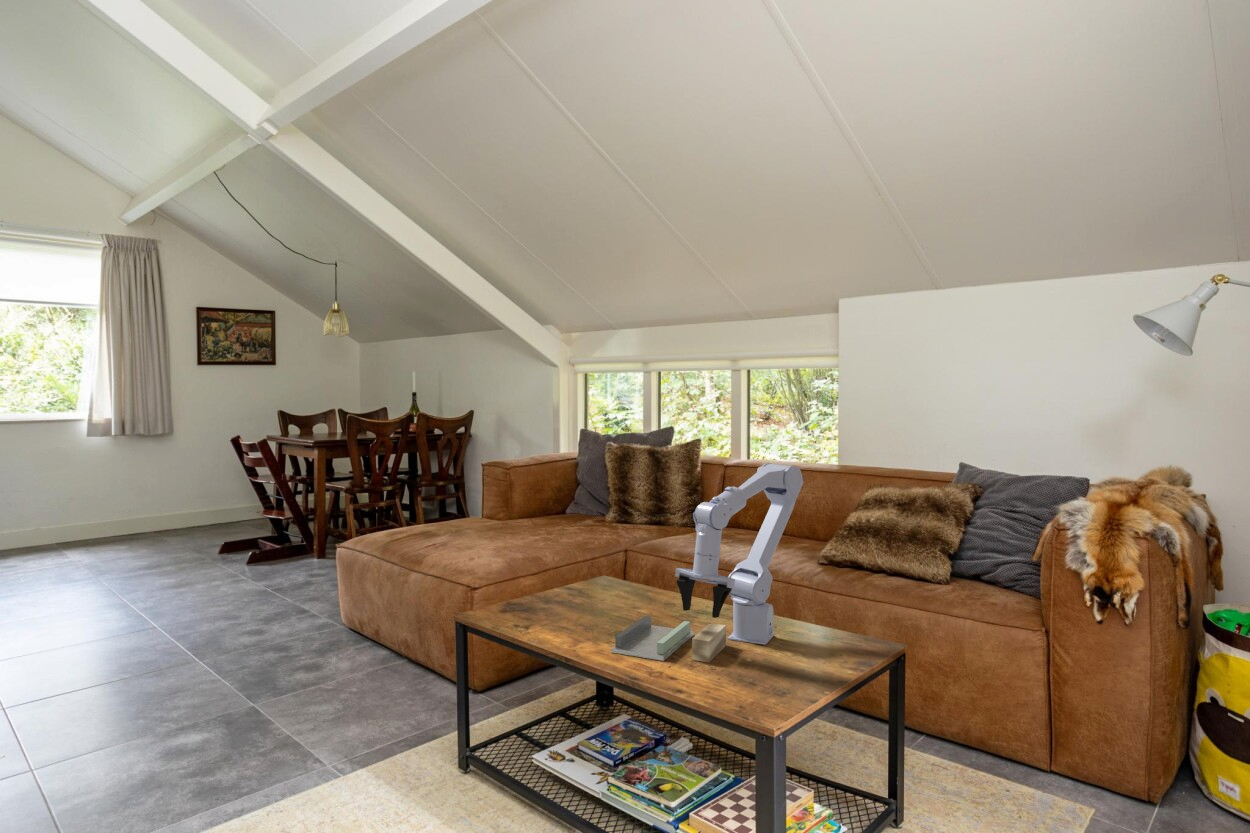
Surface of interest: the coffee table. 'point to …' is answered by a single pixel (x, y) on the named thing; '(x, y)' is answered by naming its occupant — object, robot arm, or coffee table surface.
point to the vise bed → (645, 640)
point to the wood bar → (708, 642)
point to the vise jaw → (673, 637)
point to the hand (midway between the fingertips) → (700, 613)
